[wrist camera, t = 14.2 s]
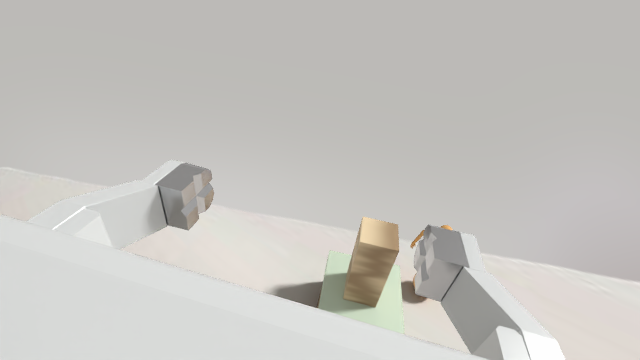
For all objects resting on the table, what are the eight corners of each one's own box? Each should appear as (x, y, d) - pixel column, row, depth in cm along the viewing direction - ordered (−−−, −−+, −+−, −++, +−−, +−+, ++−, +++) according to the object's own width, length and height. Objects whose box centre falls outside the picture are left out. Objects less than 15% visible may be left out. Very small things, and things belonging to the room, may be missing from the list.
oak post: (343, 299, 35) (359, 241, 30) (347, 272, 39) (362, 216, 33) (375, 307, 35) (399, 251, 29) (376, 280, 38) (398, 224, 33)
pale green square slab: (313, 333, 35) (317, 316, 33) (325, 268, 44) (329, 250, 41) (394, 353, 35) (404, 336, 32) (392, 283, 43) (399, 265, 41)
